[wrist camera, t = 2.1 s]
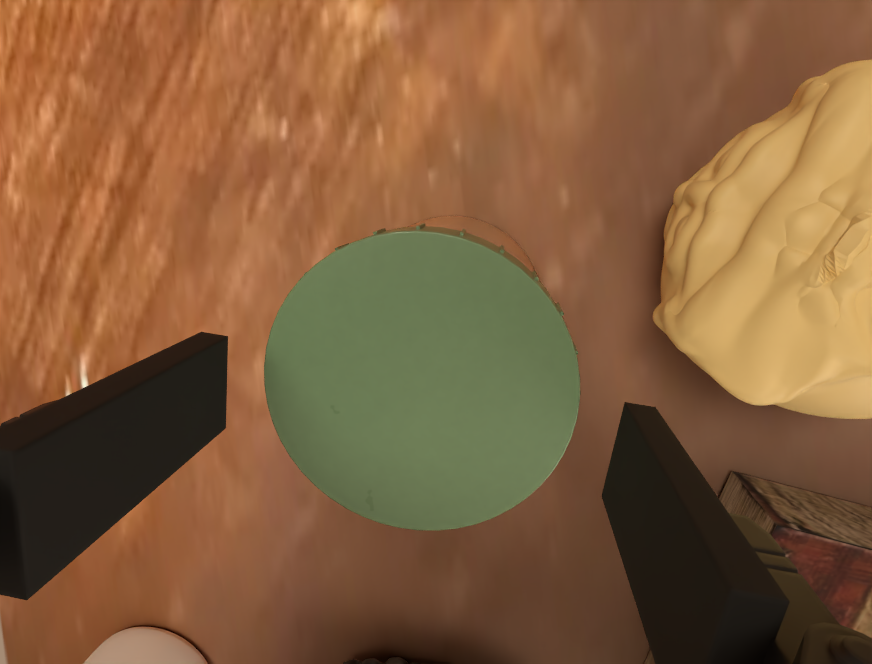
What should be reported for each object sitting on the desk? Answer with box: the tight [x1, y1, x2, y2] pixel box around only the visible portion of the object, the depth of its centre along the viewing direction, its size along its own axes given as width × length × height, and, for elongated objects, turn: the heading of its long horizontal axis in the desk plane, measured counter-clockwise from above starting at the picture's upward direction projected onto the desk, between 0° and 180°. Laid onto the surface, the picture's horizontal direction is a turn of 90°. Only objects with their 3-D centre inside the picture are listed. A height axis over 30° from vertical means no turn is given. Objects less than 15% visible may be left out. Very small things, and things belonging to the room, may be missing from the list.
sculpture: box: [653, 60, 872, 419], centre depth 20 cm, size 12×12×11 cm
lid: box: [264, 223, 581, 530], centre depth 17 cm, size 10×10×2 cm
